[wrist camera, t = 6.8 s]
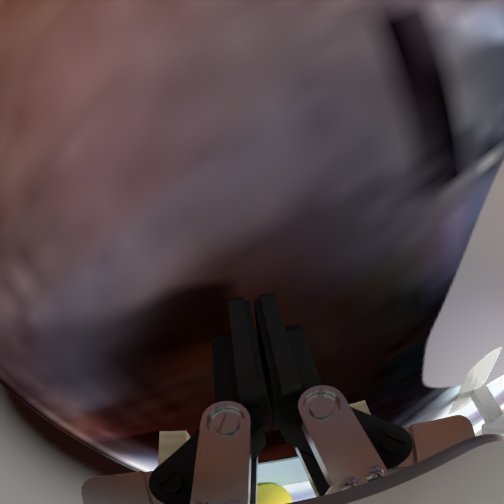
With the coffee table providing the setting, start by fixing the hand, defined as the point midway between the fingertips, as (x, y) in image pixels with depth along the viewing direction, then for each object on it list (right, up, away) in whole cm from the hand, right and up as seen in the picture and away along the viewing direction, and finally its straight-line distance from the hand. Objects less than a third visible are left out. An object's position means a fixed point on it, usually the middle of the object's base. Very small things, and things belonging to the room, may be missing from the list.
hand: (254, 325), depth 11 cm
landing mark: (+2, -22, +15) cm, 27 cm away
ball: (+2, -27, +15) cm, 31 cm away
